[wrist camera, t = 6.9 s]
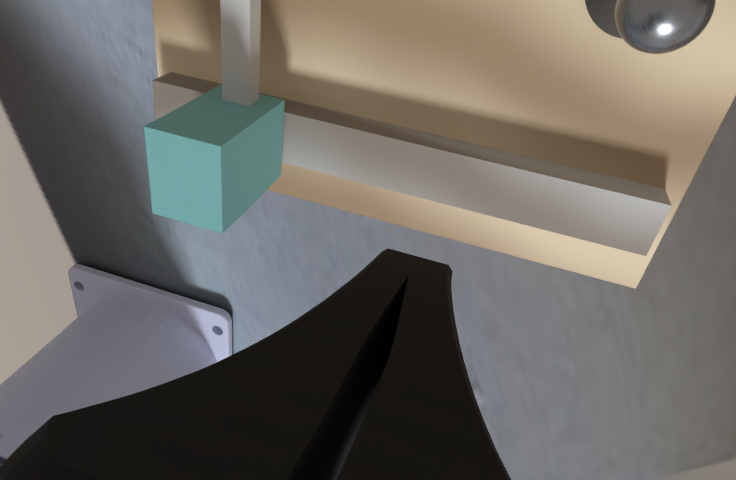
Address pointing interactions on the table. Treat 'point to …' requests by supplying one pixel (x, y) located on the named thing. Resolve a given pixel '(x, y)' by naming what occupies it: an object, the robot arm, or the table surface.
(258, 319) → the table surface
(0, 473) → the robot arm
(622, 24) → the fixed pin
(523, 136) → the board
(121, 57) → the table surface
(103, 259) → the table surface
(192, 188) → the slider leg
